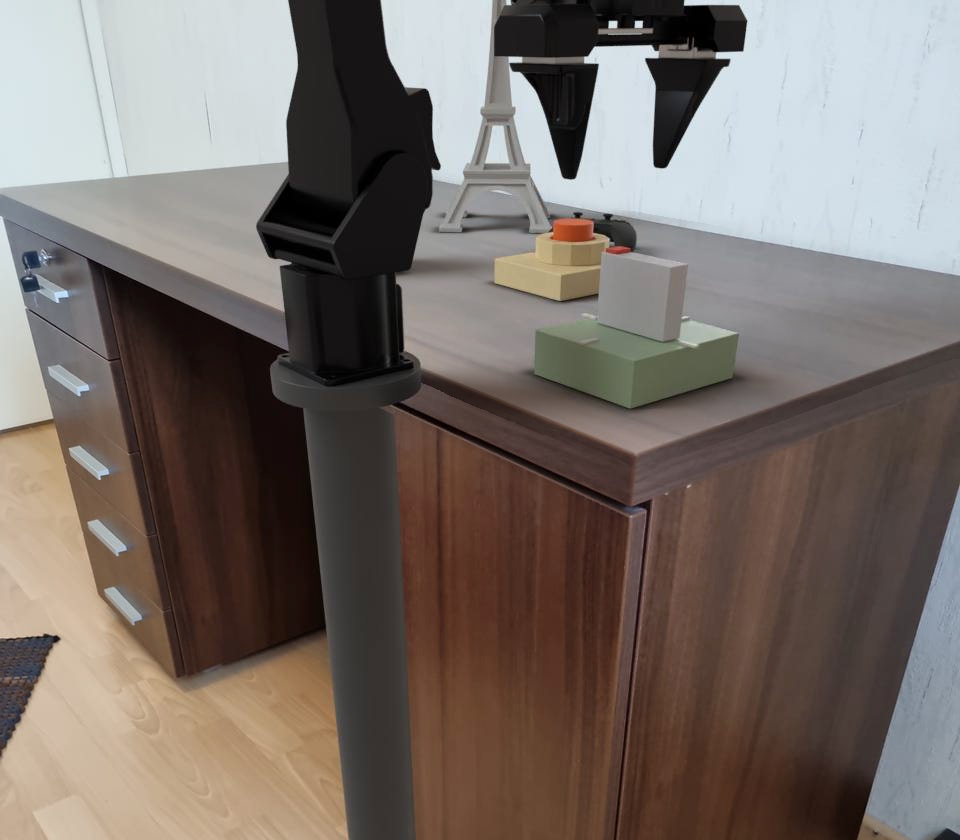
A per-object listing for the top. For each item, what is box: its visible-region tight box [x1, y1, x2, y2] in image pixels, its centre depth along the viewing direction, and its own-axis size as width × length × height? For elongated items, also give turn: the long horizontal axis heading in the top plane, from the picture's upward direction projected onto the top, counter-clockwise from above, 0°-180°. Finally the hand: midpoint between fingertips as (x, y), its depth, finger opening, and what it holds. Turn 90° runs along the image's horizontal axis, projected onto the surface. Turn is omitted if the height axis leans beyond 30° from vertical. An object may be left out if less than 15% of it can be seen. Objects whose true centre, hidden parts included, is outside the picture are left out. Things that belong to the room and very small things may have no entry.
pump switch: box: [494, 232, 611, 302], centre depth 85 cm, size 11×9×4 cm
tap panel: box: [533, 312, 740, 410], centre depth 62 cm, size 10×10×3 cm
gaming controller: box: [548, 211, 638, 252], centre depth 99 cm, size 10×5×6 cm
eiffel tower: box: [438, 0, 553, 234], centre depth 105 cm, size 13×13×30 cm
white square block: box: [596, 246, 689, 342], centre depth 59 cm, size 6×2×5 cm, turn 38°
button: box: [552, 218, 594, 242], centre depth 83 cm, size 4×4×2 cm
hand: (616, 173), depth 67 cm, fingers open, 9 cm apart
